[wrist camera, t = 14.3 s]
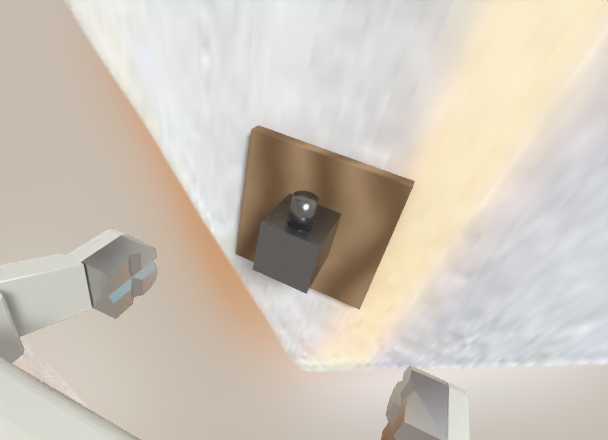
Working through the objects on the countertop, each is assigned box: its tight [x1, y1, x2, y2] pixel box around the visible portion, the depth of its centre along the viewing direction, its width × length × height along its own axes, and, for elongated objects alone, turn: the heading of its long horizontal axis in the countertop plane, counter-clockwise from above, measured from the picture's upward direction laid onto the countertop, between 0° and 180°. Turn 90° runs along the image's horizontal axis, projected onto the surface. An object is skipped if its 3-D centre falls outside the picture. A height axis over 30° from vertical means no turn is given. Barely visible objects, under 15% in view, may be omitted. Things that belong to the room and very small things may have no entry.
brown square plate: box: [236, 126, 415, 309], centre depth 41 cm, size 18×18×6 cm
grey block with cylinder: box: [253, 190, 341, 294], centre depth 38 cm, size 6×9×7 cm
